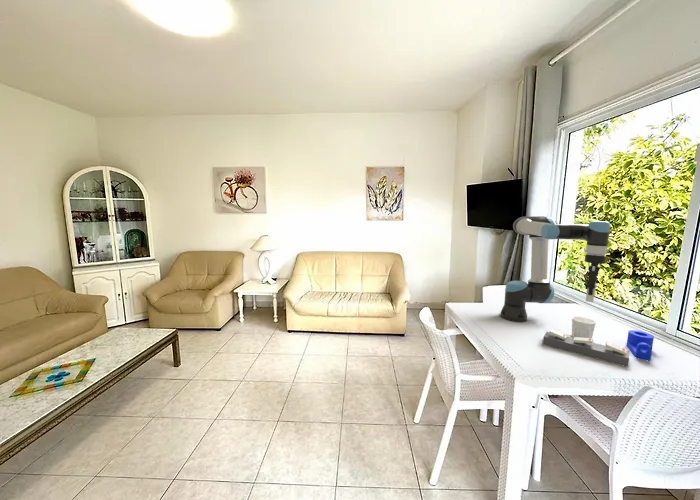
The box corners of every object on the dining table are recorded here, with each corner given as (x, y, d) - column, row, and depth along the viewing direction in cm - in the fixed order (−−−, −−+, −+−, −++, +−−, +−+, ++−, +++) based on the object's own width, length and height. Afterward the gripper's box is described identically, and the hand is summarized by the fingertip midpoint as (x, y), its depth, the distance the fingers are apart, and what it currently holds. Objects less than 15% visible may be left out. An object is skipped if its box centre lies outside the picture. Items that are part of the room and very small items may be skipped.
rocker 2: (574, 342, 144) (573, 339, 144) (575, 339, 147) (574, 336, 147) (592, 343, 139) (591, 340, 139) (593, 340, 142) (592, 337, 142)
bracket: (625, 342, 154) (627, 328, 153) (650, 347, 148) (652, 333, 147) (629, 356, 139) (631, 341, 138) (656, 363, 133) (659, 347, 132)
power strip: (542, 344, 151) (543, 335, 150) (545, 338, 157) (546, 330, 157) (627, 367, 129) (629, 356, 129) (627, 359, 136) (628, 349, 135)
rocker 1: (548, 333, 150) (549, 330, 150) (550, 330, 154) (551, 328, 153) (564, 340, 146) (565, 337, 146) (566, 337, 149) (567, 335, 149)
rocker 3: (605, 346, 136) (606, 344, 135) (605, 343, 139) (606, 341, 139) (625, 354, 131) (626, 352, 131) (624, 351, 135) (626, 349, 134)
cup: (588, 335, 162) (590, 317, 161) (597, 342, 153) (599, 324, 152) (567, 332, 166) (569, 315, 164) (574, 339, 156) (576, 322, 155)
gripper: (605, 258, 125) (599, 306, 128) (606, 252, 144) (601, 294, 147) (583, 256, 130) (578, 302, 133) (587, 250, 149) (582, 291, 152)
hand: (590, 298), depth 140 cm, fingers open, 13 cm apart
